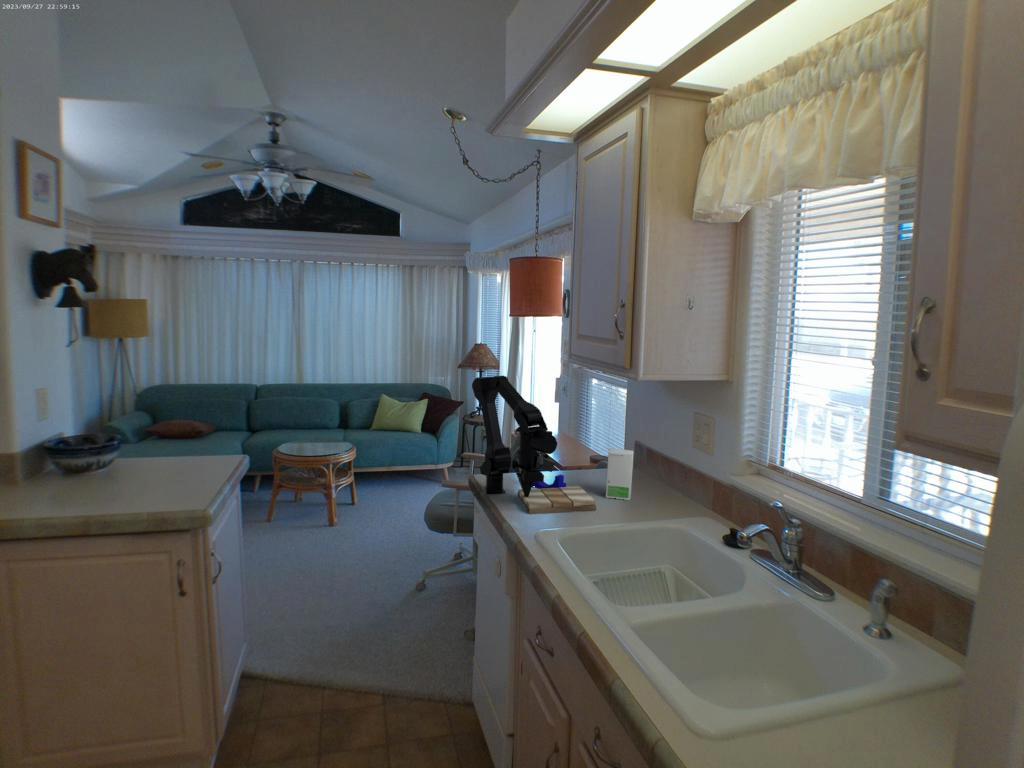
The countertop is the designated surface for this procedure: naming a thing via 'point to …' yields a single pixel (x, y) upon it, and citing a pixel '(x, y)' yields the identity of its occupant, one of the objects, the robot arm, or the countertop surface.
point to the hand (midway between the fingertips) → (526, 496)
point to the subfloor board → (557, 508)
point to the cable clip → (556, 484)
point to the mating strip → (556, 497)
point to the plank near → (535, 499)
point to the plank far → (577, 496)
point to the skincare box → (619, 474)
